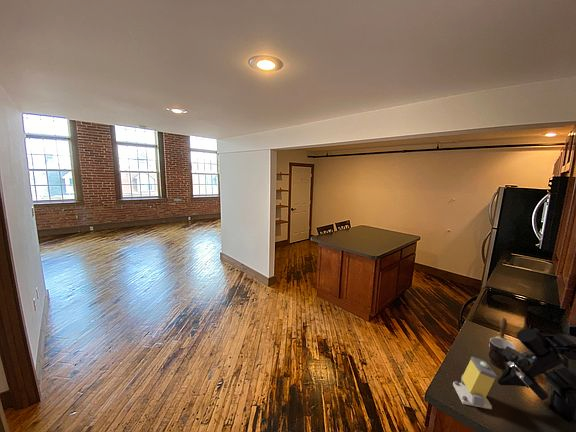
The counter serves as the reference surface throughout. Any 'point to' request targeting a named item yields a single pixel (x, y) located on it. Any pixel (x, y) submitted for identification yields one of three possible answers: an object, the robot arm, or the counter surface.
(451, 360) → the counter surface
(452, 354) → the counter surface
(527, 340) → the robot arm
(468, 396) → the base
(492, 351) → the coffee mug
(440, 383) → the counter surface
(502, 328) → the hand bell
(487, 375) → the yellow block on base
